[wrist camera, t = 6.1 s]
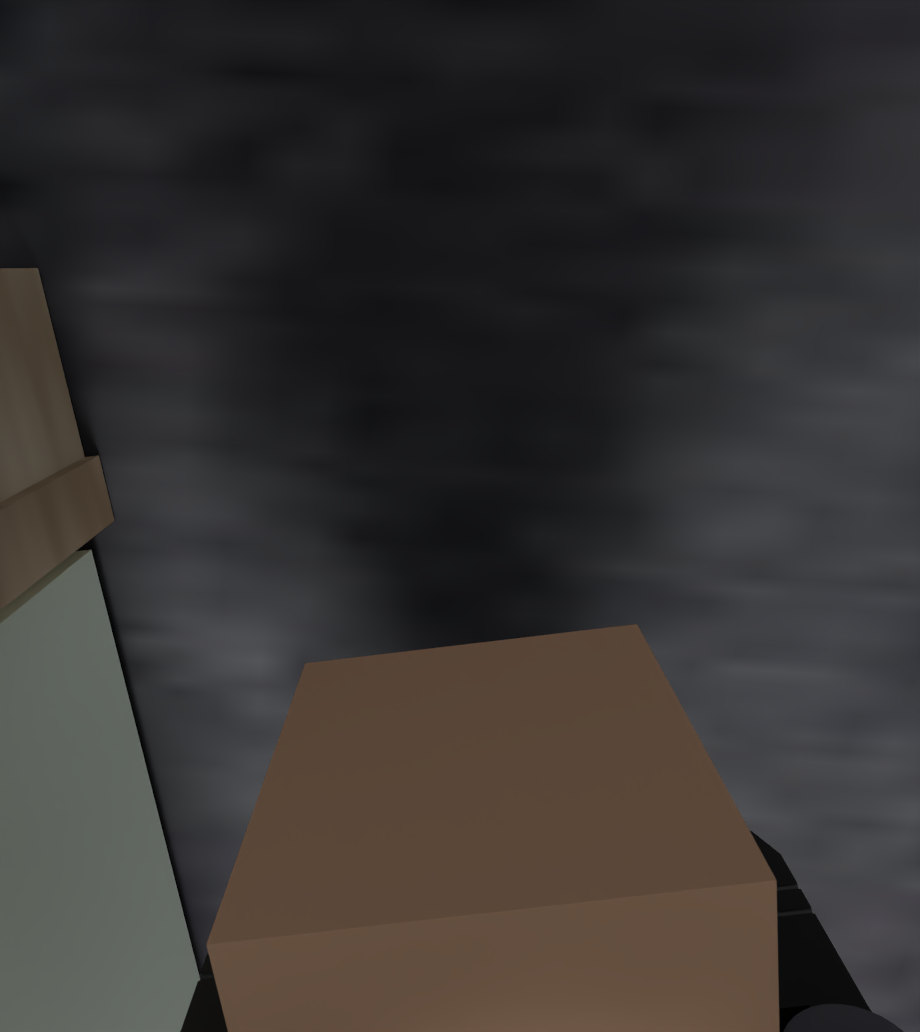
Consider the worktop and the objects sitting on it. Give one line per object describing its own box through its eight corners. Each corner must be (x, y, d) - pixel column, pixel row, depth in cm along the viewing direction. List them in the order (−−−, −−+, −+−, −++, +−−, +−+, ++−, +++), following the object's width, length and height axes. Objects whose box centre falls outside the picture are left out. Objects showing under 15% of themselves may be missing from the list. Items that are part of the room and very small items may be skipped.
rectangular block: (305, 663, 12) (206, 944, 7) (636, 623, 11) (776, 880, 7) (380, 1064, 13) (345, 1504, 9) (664, 1033, 13) (787, 1460, 9)
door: (-34, 559, 15) (-381, 774, 9) (97, 544, 15) (-153, 748, 9) (112, 1051, 19) (-63, 1473, 12) (221, 1038, 19) (103, 1456, 12)
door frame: (-68, 281, 14) (-877, 304, 5) (53, 266, 14) (-565, 266, 5) (202, 1234, 20) (26, 1955, 12) (285, 1225, 20) (171, 1940, 12)
